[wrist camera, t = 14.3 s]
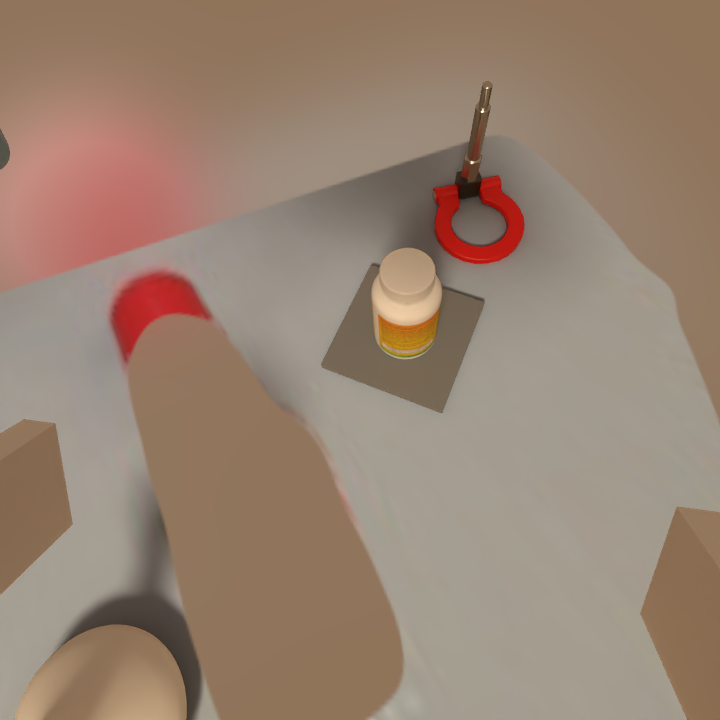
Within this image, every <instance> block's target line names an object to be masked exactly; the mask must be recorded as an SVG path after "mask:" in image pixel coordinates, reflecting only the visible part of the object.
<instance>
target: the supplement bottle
mask: <svg viewBox="0 0 720 720" xmlns="http://www.w3.org/2000/svg"><path fill="white" fill-rule="evenodd" d="M371 299H372V310H373V324H374V334H375V338H376V341H377V343H378V345H379V347H380V348H381V349H382V350H383V351H384V352H385V353H387V354H388V355H390V356H392V357H395V358H398V359H413V358H416V357H419V356H421V355H423V354H424V353H426V352H427V351H428V350H429V349H430V348H431V346H432V345H433V343H434V341H435V338H436V333H437V326H438V319H439V313H440V306H441V300H442V286H441V283H440V280H439V278H438V276H437V275H436V270H435V265H434V263H433V261H432V259H431V258H430V257H429V256H428V255H427V254H426V253H424V252H423V251H421V250H418V249H414V248H401V249H397V250H394V251H392V252H391V253H389V254H388V255H387V256H386V257H385V258H384V259H383V261H382V263H381V265H380V269H379V274H378V275H377V276H376V278H375V280H374V282H373V285H372V291H371Z"/></svg>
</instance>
